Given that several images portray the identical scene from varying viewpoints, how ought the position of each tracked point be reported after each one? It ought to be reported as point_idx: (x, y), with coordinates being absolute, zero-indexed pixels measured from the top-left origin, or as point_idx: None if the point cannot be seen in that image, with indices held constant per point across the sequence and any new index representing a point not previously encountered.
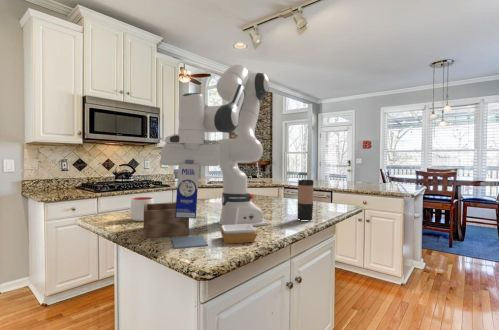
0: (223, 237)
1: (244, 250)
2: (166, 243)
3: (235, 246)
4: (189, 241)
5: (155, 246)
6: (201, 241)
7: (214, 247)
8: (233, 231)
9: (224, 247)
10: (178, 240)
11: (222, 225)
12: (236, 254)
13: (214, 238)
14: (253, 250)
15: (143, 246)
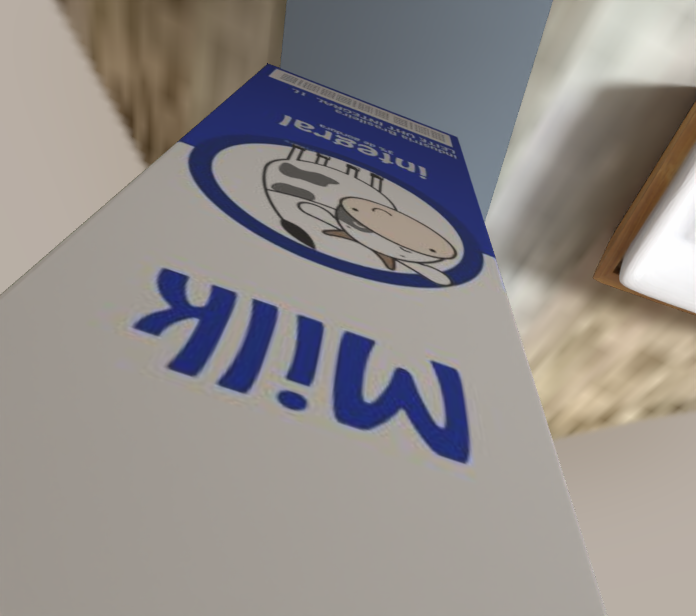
0: (596, 268)
1: (622, 384)
2: (239, 36)
3: (629, 310)
4: (394, 108)
5: (161, 74)
6: (473, 149)
7: (503, 268)
8: (682, 306)
9: (557, 295)
10: (327, 42)
11: None
12: (543, 409)
13: (626, 77)
14: (665, 405)
15: (84, 35)
